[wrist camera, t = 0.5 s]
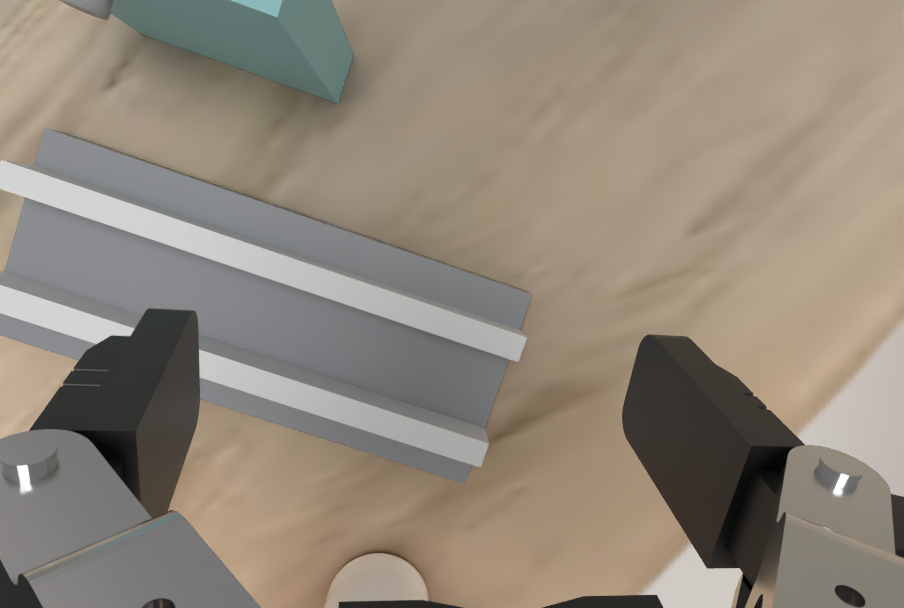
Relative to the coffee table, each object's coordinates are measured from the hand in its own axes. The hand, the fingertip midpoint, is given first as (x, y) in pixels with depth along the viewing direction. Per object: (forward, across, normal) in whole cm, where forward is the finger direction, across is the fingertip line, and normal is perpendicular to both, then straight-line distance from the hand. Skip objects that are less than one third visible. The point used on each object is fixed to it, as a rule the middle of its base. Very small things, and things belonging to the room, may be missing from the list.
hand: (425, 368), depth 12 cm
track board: (+22, +5, +9) cm, 24 cm away
